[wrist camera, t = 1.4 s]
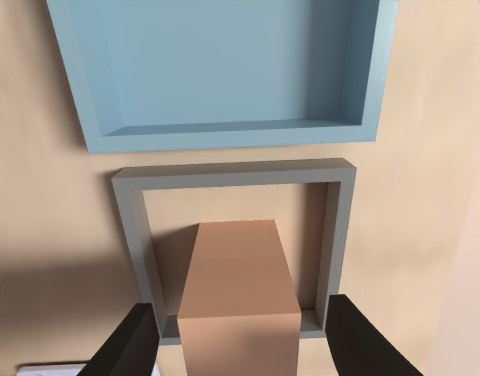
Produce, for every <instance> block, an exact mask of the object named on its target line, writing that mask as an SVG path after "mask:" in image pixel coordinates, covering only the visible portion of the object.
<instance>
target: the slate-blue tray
mask: <svg viewBox="0 0 480 376" xmlns="http://www.w3.org/2000/svg"><path fill="white" fill-rule="evenodd" d="M46 1H47V5H48V8H49V12H50V15H51V19H52V23H53V26H54V30H55V33H56V37H57V41H58V44H59V48H60V52H61V55H62V59H63V62H64V66H65V70H66V73H67V77H68V80H69V84H70V88H71V91H72V95H73V98H74V102H75V106H76V109H77V113H78V116H79V120H80V124H81V127H82V131H83V134H84V138H85V142H86V145H87V149H88V153H89V154H91V153H114V152H137V151H160V150H183V149H207V148H230V147H253V146H276V145H300V144H323V143H346V142H369V141H375V140H376V134H377V128H378V122H379V116H380V110H381V105H382V99H383V93H384V87H385V81H386V75H387V69H388V64H389V58H390V52H391V46H392V40H393V34H394V28H395V23H396V17H397V11H398V5H399V0H46Z"/></svg>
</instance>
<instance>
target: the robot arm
mask: <svg viewBox="0 0 480 376" xmlns="http://www.w3.org/2000/svg"><path fill="white" fill-rule="evenodd" d="M325 333H326V337H327V341H328V345H329V348H330V352H331V355H332V359H333V361H334V364H335V367H336V369H337V372H338V374H339V376H424V375H423V374H422V373H421V372H419V371H418V370H417V369H416V368H415V367H414V366H413V365H412V364H411V363H410V362H409V361H408V360H407V359H406V358H405V357H404V356H403V355H402V354H401V353H400V352H399V351H398V350H397V349H396V348H395V347H394V346H393V345H392V344H391V343H390V342H389V341H388V340H387V339H386V338H385V337H384V336H383V335H382V334H381V333H380V332H379V331H378V330H377V329H376V328H375V327H374V326H373V325H372V324H371V323H370V321H369V320H368V319H367V318H366V317H365V316H364V315H363V314H362V313H361V312H360V311H359V309H358V308H357V307H356V306H355V305H354V304H353V303H352V302H351V301H350V299H349V298H348V297H347V296H346V295H345V294H338V295H329V302H328V309H327V317H326V324H325ZM159 340H160V336H159V332H158V327H157V323H156V319H155V315H154V310H153V306H152V303H137V304H136V305H135V306H134V307H133V308H132V309H131V311H130V312H129V313H128V314H127V316H126V317H125V318H124V320H123V321H122V322H121V323H120V325H119V326H118V327H117V328H116V330H115V331H114V332H113V333H112V334H111V336H110V337H109V338H108V339H107V341H106V342H105V343H104V344H103V345H102V346H101V348H100V349H99V350H98V351H97V352H96V354H95V355H94V356H93V357H92V358H91V359H90V361H89V362H88V363H87V364H68V365H47V366H27V367H22V368H20V369H19V370H18V372H17V373H16V376H160V373H159V370H158V366H157V364H156V363H155V360H156V356H157V351H158V345H159Z"/></svg>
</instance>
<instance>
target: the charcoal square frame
mask: <svg viewBox="0 0 480 376" xmlns="http://www.w3.org/2000/svg"><path fill="white" fill-rule="evenodd" d="M356 169H357V168H356V167H355V166H354V165H352V164H351V163H349V162H348V161H347V160H345V159H344V158H331V159H308V160H285V161H262V162H239V163H216V164H193V165H170V166H147V167H125V168H123V169H122V170H121V171H120V172H118V173H117V174H116V175H115V176H113V177H112V178H111V181H112V185H113V189H114V193H115V196H116V200H117V204H118V208H119V212H120V216H121V220H122V224H123V228H124V232H125V236H126V240H127V244H128V248H129V252H130V256H131V260H132V264H133V268H134V272H135V276H136V280H137V284H138V288H139V292H140V296H141V300H142V303H152V306H153V310H154V315H155V319H156V323H157V327H158V332H159V336H160V340H159V345H158V346H160V345H180V344H182V343H181V337H180V332H179V327H178V321H177V317H178V316H168V315H167V310H166V305H165V300H164V295H163V291H162V286H161V281H160V276H159V271H158V266H157V261H156V256H155V252H154V247H153V242H152V237H151V232H150V227H149V222H148V217H147V213H146V208H145V203H144V198H143V193H142V190H154V189H177V188H199V187H222V186H245V185H267V184H290V183H313V182H328V189H327V199H326V208H325V218H324V227H323V237H322V247H321V256H320V266H319V275H318V285H317V294H316V304H315V309H312V310H301V325H300V338H299V339H305V338H325V337H326V333H325V324H326V317H327V309H328V302H329V295H338V291H339V284H340V277H341V271H342V264H343V257H344V250H345V244H346V237H347V230H348V223H349V217H350V210H351V203H352V196H353V190H354V183H355V176H356Z"/></svg>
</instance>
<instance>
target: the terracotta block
mask: <svg viewBox="0 0 480 376" xmlns="http://www.w3.org/2000/svg"><path fill="white" fill-rule="evenodd" d="M177 321H178V327H179V332H180V337H181V343H182V348H183V354H184V359H185V364H186V370H187V375H188V376H297V364H298V351H299V338H300V325H301V310H300V307H299V303H298V300H297V296H296V293H295V289H294V286H293V282H292V279H291V276H290V272H289V269H288V265H287V262H286V258H285V255H284V252H283V248H282V245H281V241H280V238H279V234H278V231H277V228H276V224H275V221H274V220H254V221H232V222H210V223H200V224H199V229H198V233H197V237H196V241H195V245H194V250H193V254H192V258H191V262H190V266H189V271H188V275H187V279H186V283H185V288H184V292H183V296H182V300H181V304H180V309H179V313H178V317H177Z"/></svg>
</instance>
